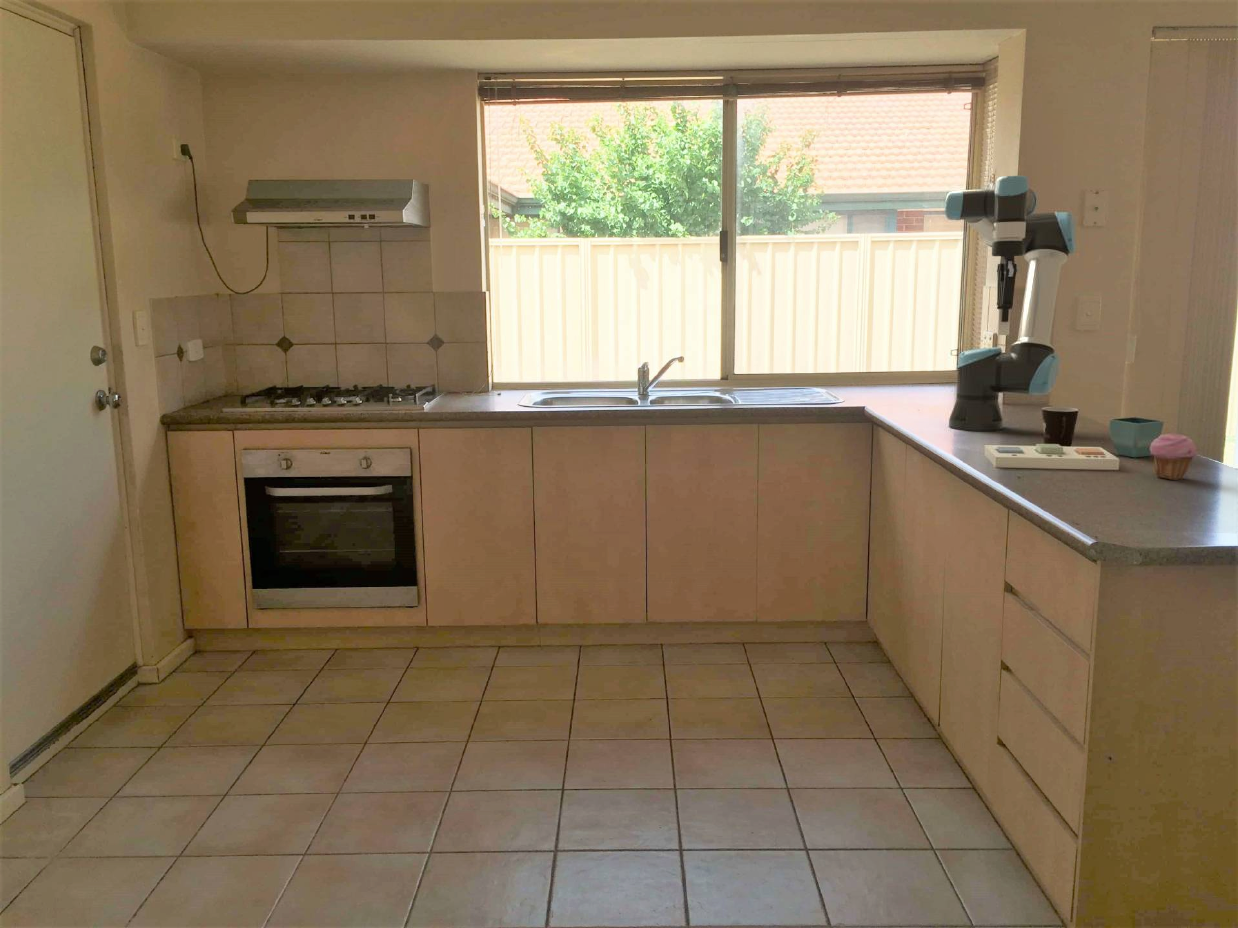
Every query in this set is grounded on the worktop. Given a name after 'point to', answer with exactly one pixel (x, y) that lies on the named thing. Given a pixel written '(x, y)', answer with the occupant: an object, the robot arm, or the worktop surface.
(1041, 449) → the button
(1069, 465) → the panel
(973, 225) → the robot arm
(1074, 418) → the coffee mug
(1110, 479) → the worktop surface
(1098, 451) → the button
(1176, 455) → the cupcake
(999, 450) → the button
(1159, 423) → the flower pot
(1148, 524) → the worktop surface
